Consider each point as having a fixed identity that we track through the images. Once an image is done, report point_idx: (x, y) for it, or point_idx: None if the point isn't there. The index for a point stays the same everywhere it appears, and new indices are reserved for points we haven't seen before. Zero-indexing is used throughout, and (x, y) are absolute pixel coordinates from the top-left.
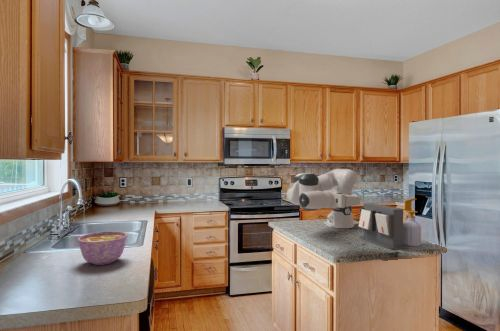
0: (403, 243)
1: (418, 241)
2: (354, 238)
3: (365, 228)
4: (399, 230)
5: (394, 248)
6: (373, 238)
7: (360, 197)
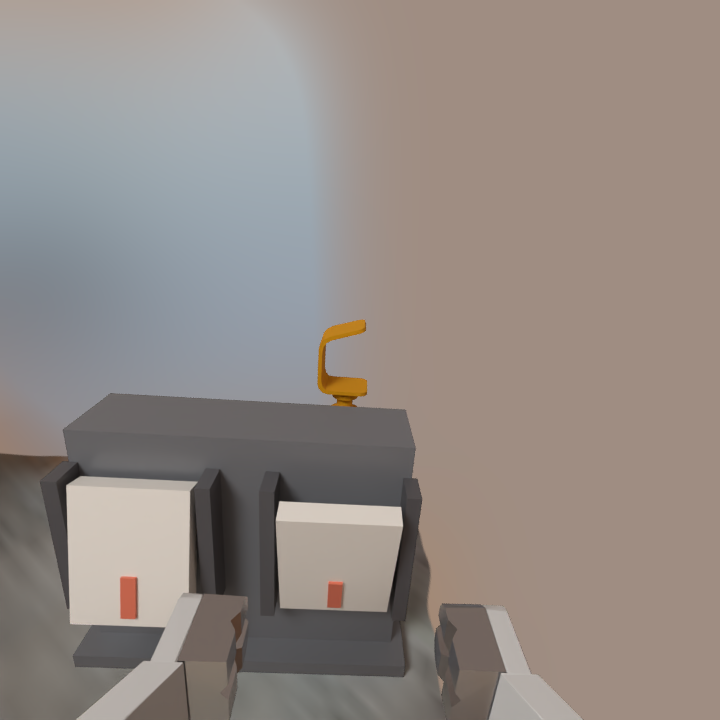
0: None
1: None
2: (44, 709)
3: (162, 625)
4: None
5: (402, 648)
6: None
7: (504, 616)
